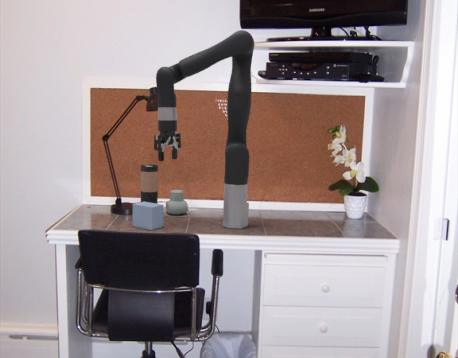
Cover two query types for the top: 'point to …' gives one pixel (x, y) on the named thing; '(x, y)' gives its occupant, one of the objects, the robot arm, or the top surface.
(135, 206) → the blue-grey block
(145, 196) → the travel mug
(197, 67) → the robot arm
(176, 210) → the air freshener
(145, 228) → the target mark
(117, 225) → the top surface
